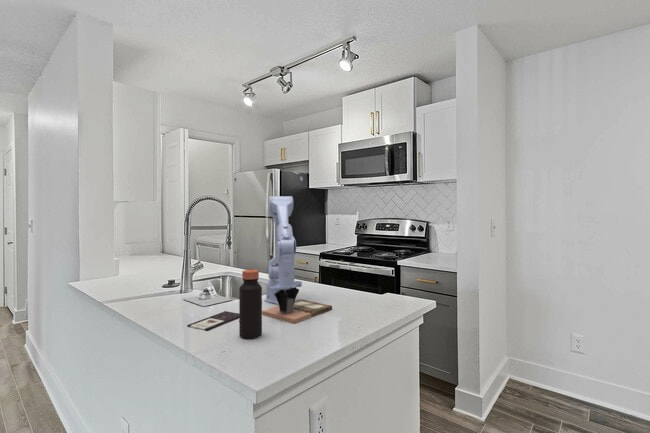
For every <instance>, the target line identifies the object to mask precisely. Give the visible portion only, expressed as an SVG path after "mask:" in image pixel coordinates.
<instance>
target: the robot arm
mask: <svg viewBox="0 0 650 433" xmlns="http://www.w3.org/2000/svg"><path fill="white" fill-rule="evenodd" d="M293 210H294V198H293V196H292V195H289V196H288V195H287V196H284V195H283V196H279V195H278V196H277V195H276V196H275V195H274V196H273V195H270V196H268V216H269V217H272V218H273V221H274V257H273V258H271V259H270V260H269V261H268V268H267V269H268V272H267V275H268V279H269V280H267V283H266V287H265V288H266V290H265V291H266V292H265V294H266V298H265V299H264V301H265V302H268V303H273V304H276V305H278V306H279V308H280V311H286V301H287V297H289V298H293V305H294V302H295V301H296V298H297V296H298V294H299V292H300V289H299V288H301V287H302V286H303V281H301V280H295V255H296V253H297V241H296V239H295V236H294V234H293V227H292V225H291V224H290V223H289V217H291V215H292V213H293Z"/></svg>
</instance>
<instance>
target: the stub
mask: <svg viewBox="0 0 650 433" xmlns="http://www.w3.org/2000/svg"><path fill="white" fill-rule="evenodd" d="M262 316H264V317H268V318H272V319H276V320H280V321H283V322H286V323H290V324H293V325H296V324H298V323H300V322H302V321H303V322H304V321H305V320H308V319H310V318H312V317H311V313H308V312H304V311H301V310H296V309H293V298H289V297H287V301H286V311H280V308H279V305H277V306H273V307H270V308H267V309H264V310H262Z"/></svg>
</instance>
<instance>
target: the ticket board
mask: <svg viewBox="0 0 650 433" xmlns="http://www.w3.org/2000/svg"><path fill="white" fill-rule="evenodd" d="M293 309H296V310H301V311H304V312H308V313H311V318H313V317H316V316H319V315H322V314H324V313H327V312H330V311H332V310H333V305H330V304H326V303H321V302H316V301H312V300H308V299H304V298H303V299H301V298H300V299H296V300H295V302H294V305H293Z"/></svg>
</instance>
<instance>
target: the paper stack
mask: <svg viewBox="0 0 650 433" xmlns="http://www.w3.org/2000/svg"><path fill="white" fill-rule="evenodd" d="M216 295H217V297H215V298H213V299H206V300H199V299H198V296H199V295H196V296H192V297H191V296H190V297H186V298H183V300H184V301H187V302H190V303H193V304H196V305H198V306H201V307H206V306H210V305H216V304H221V303H224V302H229V301H233V300H234V299H233V298H230V297H226V296H223V295H220V294H216Z"/></svg>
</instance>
